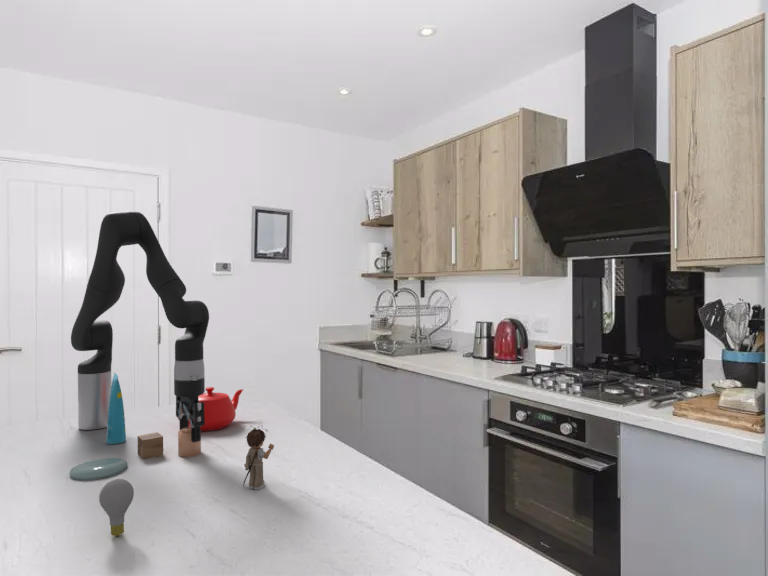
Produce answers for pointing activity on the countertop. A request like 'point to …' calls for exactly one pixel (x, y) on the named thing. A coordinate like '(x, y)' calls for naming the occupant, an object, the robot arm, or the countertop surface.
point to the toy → (256, 458)
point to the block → (150, 445)
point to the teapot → (218, 409)
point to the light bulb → (116, 503)
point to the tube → (116, 415)
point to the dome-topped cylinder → (187, 444)
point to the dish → (98, 469)
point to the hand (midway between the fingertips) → (189, 437)
